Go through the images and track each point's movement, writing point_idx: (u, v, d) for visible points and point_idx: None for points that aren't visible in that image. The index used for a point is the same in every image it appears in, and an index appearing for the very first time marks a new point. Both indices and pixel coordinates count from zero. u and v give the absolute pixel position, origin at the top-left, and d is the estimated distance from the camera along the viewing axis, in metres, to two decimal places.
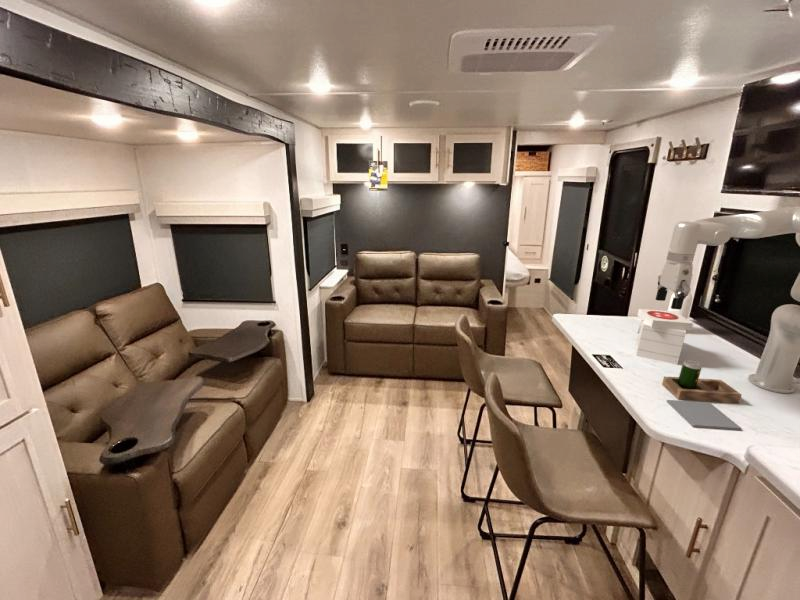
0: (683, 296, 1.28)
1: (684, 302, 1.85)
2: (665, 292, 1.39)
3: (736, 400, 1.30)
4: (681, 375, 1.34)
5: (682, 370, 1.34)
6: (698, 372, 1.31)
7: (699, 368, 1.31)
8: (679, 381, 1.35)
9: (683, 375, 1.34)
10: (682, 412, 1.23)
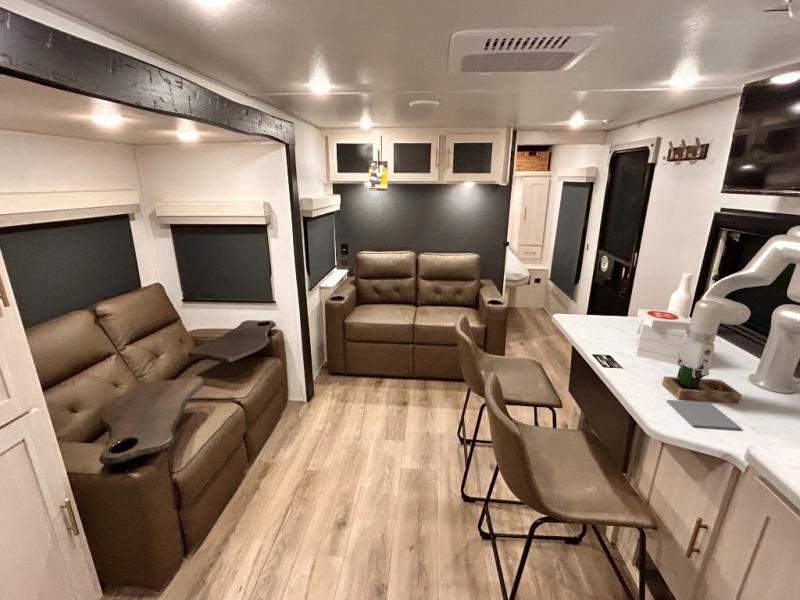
0: (700, 376, 1.28)
1: (684, 302, 1.85)
2: None
3: (736, 400, 1.30)
4: (681, 375, 1.34)
5: (682, 370, 1.34)
6: (698, 372, 1.31)
7: (699, 368, 1.31)
8: (679, 381, 1.35)
9: (683, 375, 1.34)
10: (682, 412, 1.23)
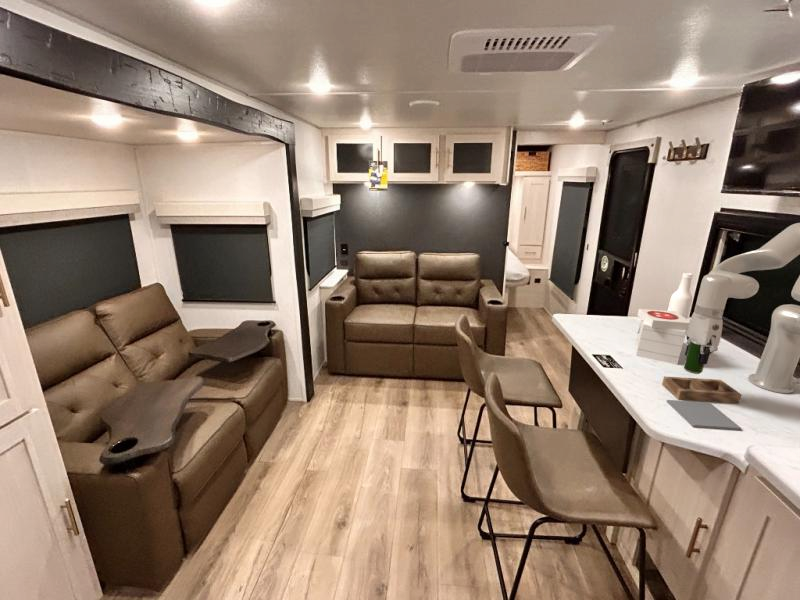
0: (709, 352, 1.26)
1: (684, 302, 1.85)
2: None
3: (736, 400, 1.30)
4: (689, 352, 1.32)
5: (690, 347, 1.31)
6: (706, 348, 1.28)
7: (707, 344, 1.28)
8: (687, 359, 1.33)
9: (690, 353, 1.31)
10: (682, 412, 1.23)
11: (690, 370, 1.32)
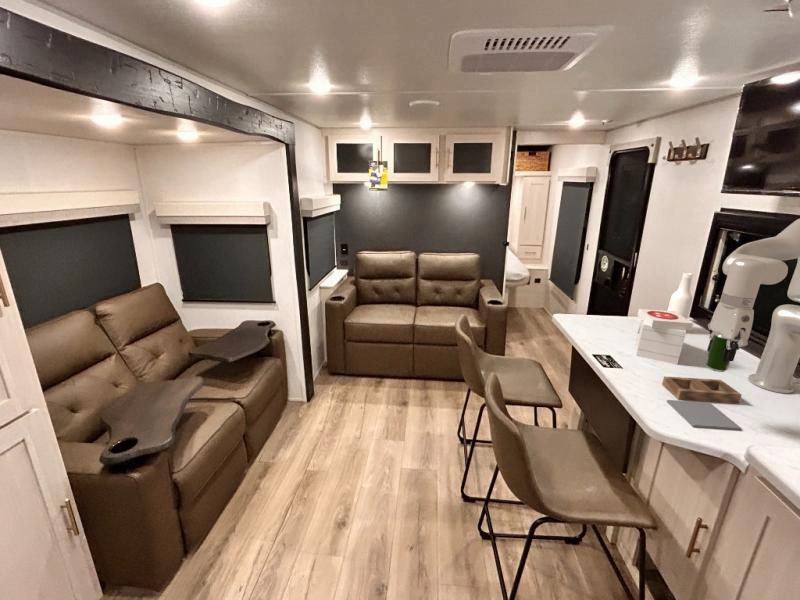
0: (737, 347, 1.11)
1: (684, 302, 1.85)
2: None
3: (736, 400, 1.30)
4: (712, 347, 1.16)
5: (714, 342, 1.16)
6: (733, 343, 1.13)
7: (734, 338, 1.13)
8: (710, 355, 1.17)
9: (714, 348, 1.16)
10: (682, 412, 1.23)
11: (713, 368, 1.17)
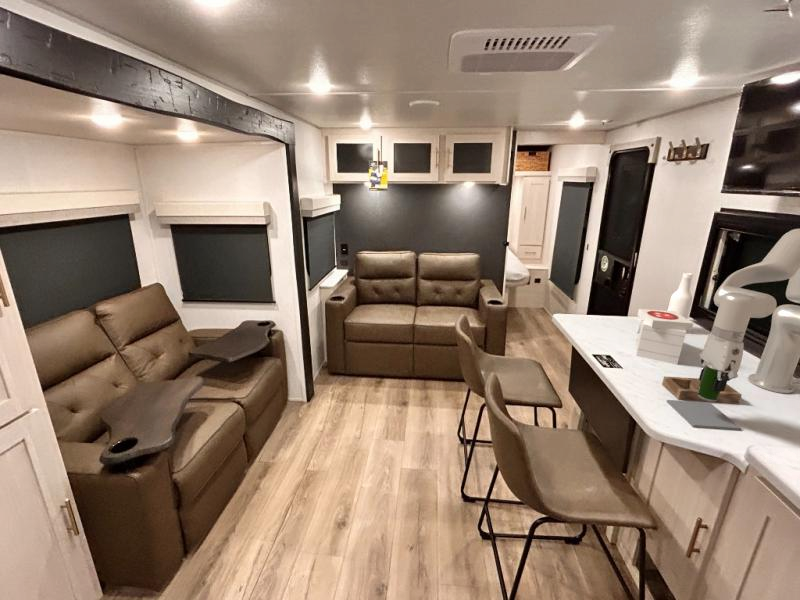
0: (727, 379, 1.13)
1: (684, 302, 1.85)
2: None
3: (736, 400, 1.30)
4: (704, 377, 1.19)
5: (705, 372, 1.19)
6: (724, 374, 1.16)
7: None
8: (701, 384, 1.20)
9: (706, 378, 1.18)
10: (682, 412, 1.23)
11: (705, 397, 1.19)
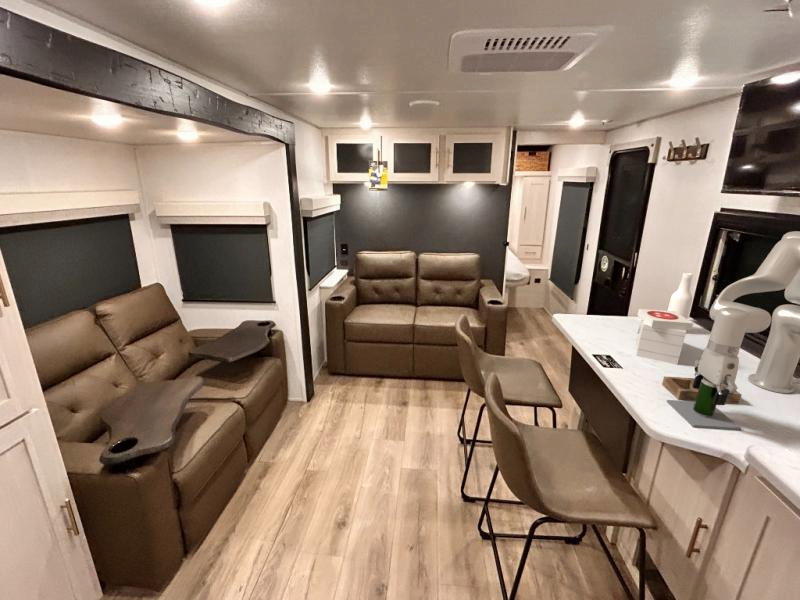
0: (728, 393, 1.13)
1: (684, 302, 1.85)
2: None
3: (736, 400, 1.30)
4: (699, 394, 1.21)
5: (700, 388, 1.21)
6: None
7: None
8: (697, 400, 1.22)
9: (701, 394, 1.20)
10: (682, 412, 1.23)
11: (700, 413, 1.21)
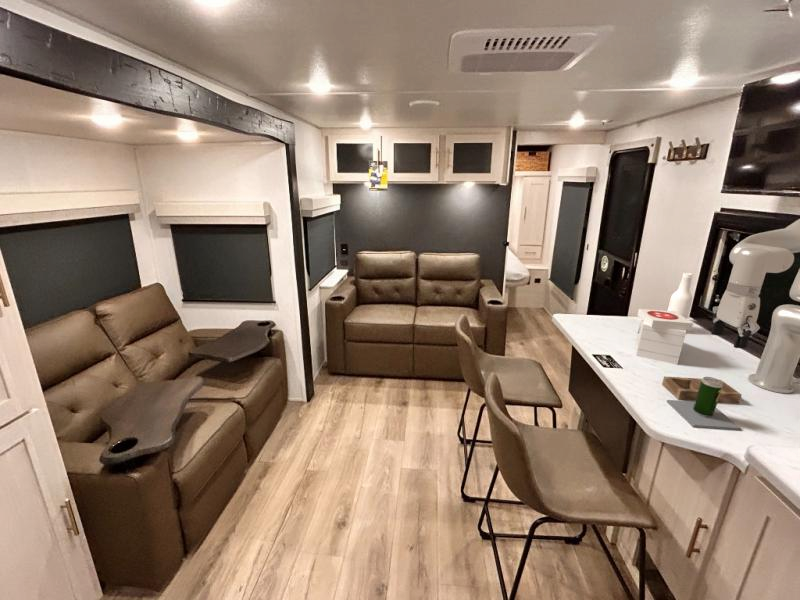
0: (750, 334, 1.11)
1: (684, 302, 1.85)
2: (722, 326, 1.22)
3: (736, 400, 1.30)
4: (699, 394, 1.21)
5: (701, 388, 1.21)
6: (719, 391, 1.18)
7: (720, 386, 1.17)
8: (697, 400, 1.22)
9: (701, 394, 1.20)
10: (682, 412, 1.23)
11: (700, 413, 1.21)
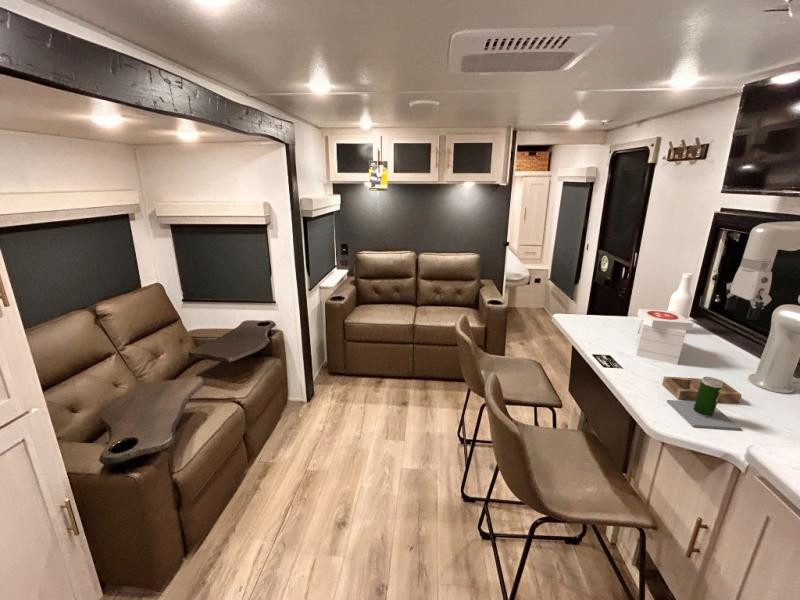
0: (762, 306, 1.20)
1: (684, 302, 1.85)
2: (735, 301, 1.31)
3: (736, 400, 1.30)
4: (699, 394, 1.21)
5: (700, 388, 1.21)
6: (719, 391, 1.18)
7: (720, 386, 1.17)
8: (697, 400, 1.22)
9: (701, 394, 1.20)
10: (682, 412, 1.23)
11: (700, 413, 1.21)
